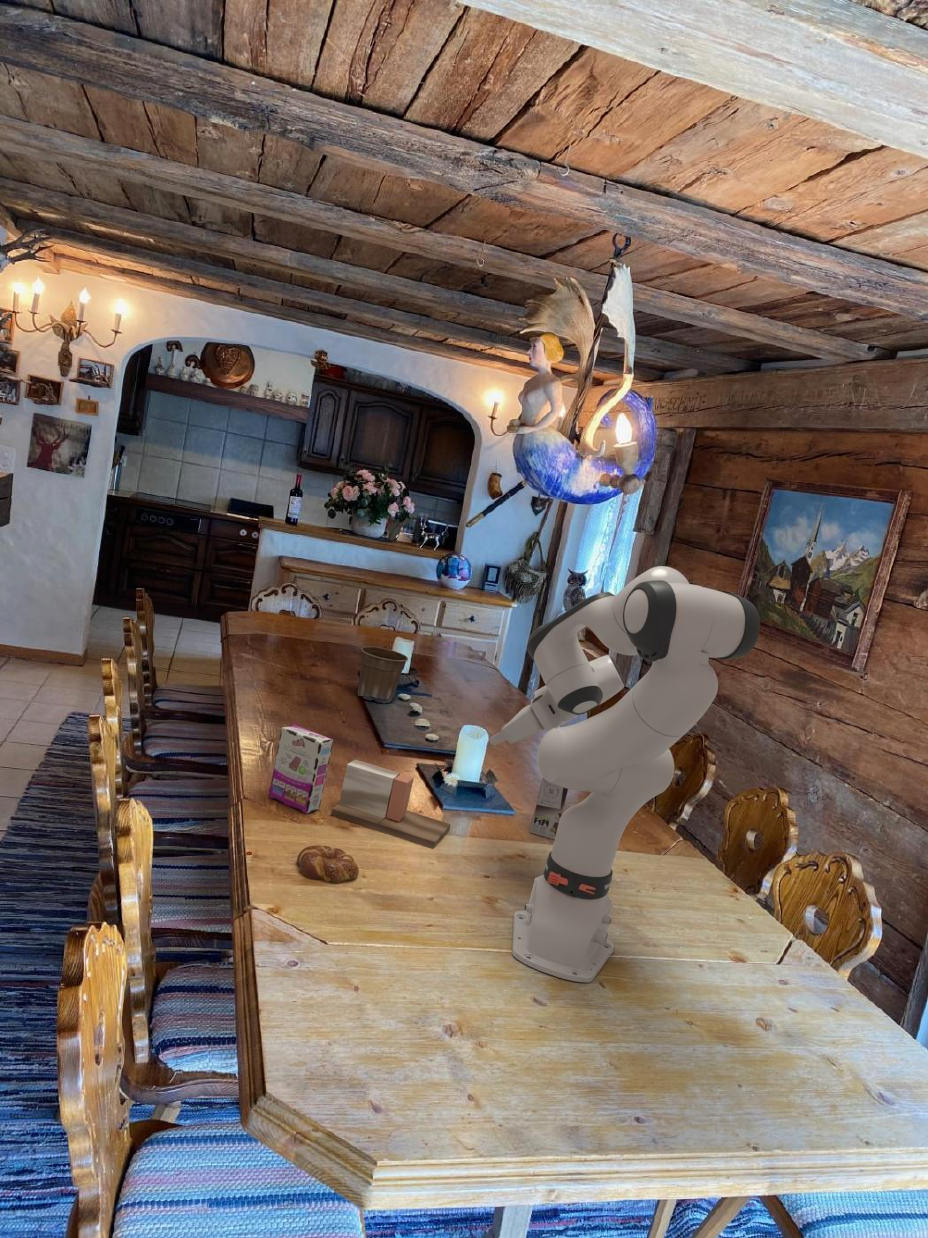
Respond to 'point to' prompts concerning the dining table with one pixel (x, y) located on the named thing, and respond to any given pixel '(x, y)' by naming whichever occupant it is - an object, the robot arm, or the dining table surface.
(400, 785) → the stub
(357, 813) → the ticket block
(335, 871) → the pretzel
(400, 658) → the plant pot
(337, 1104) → the dining table surface
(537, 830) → the coffee box
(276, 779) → the candy bar box
